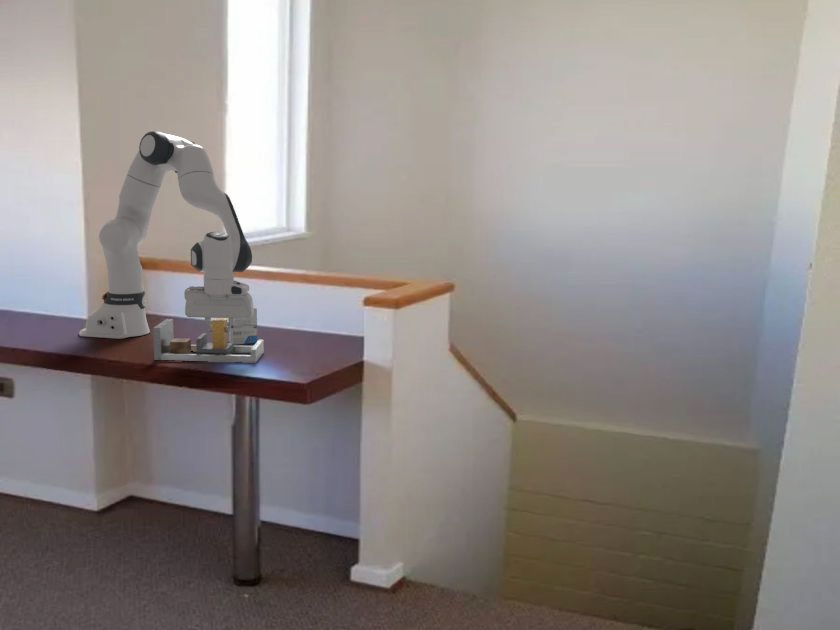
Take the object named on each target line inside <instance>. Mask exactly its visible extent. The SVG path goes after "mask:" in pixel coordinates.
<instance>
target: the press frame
mask: <svg viewBox="0 0 840 630" xmlns="http://www.w3.org/2000/svg"><path fill="white" fill-rule="evenodd" d="M152 331H153V332H152V334H153V352H154V353H153V355H154V357H153V358H154V360H185V361H187V360H188V361H208V362H207V363H235V362H242V363H244V364H257V362H258V360H260V358H261V357H262V355H263V354H264V352H265V345H264V342H265V341H264V339H257V342H256V343H254V344H253V345H244V344H235V345H233V353H232V355H222V354H197V346H196V344H191V351H193V352H192V353H191V354H169V353H170V341H172V340H173V339H174V338H175V336H174V335H175V334H174V319H173V318H165V319H164V320H162V321H161V322H159V323H158V324H157V325H155V326H153V328H152ZM234 353H235V354H234ZM237 353H238V354H237ZM242 363H241V364H242Z"/></svg>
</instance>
